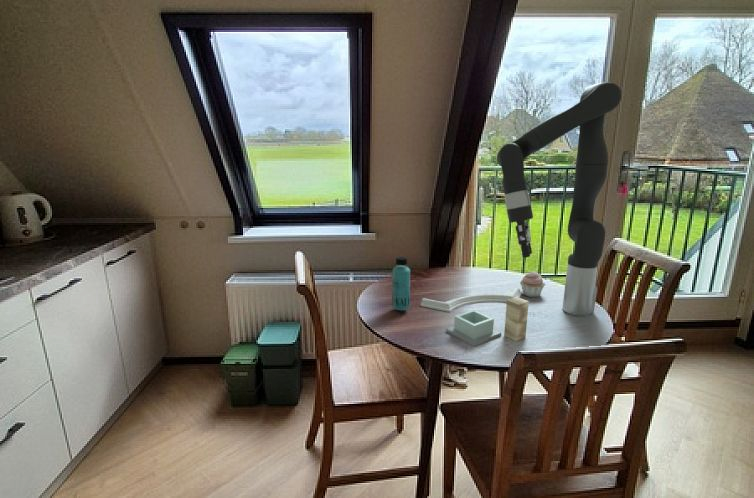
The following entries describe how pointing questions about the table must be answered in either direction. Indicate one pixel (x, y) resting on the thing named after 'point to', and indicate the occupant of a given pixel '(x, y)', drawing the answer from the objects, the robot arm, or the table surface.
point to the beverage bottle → (401, 285)
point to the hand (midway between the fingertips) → (527, 255)
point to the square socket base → (473, 328)
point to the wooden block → (516, 318)
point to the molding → (470, 300)
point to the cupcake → (532, 284)
